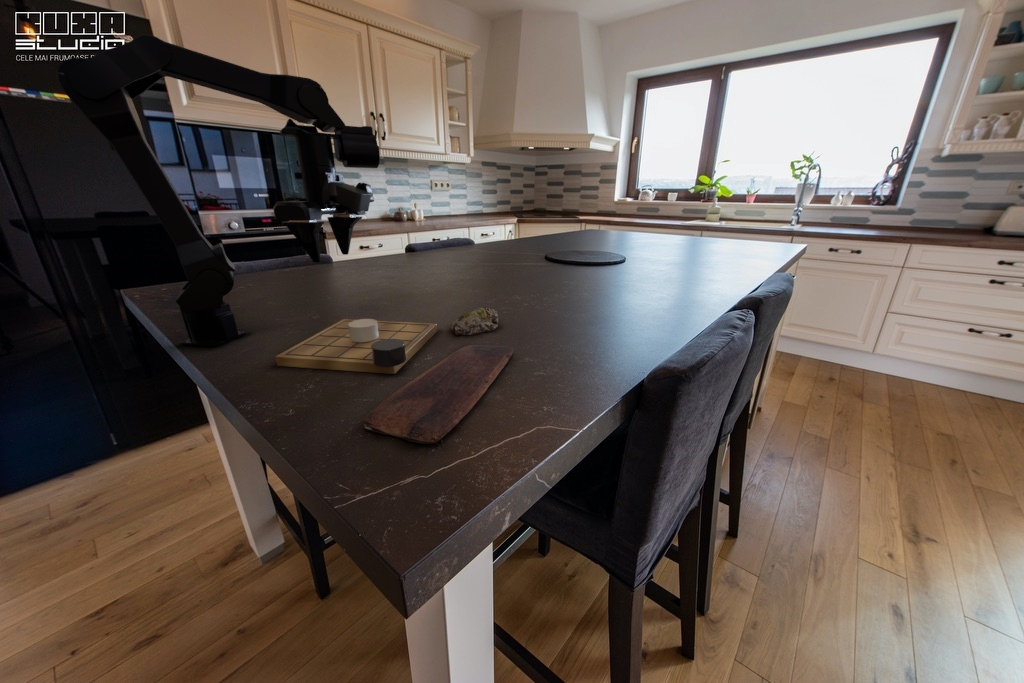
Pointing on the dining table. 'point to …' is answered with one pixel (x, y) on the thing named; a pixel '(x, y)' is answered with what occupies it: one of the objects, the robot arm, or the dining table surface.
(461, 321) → the mineral rock
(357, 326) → the cream stone
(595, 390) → the dining table surface
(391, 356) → the black stone
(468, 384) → the wooden tablet
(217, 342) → the robot arm
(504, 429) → the dining table surface
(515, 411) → the dining table surface
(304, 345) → the game board
